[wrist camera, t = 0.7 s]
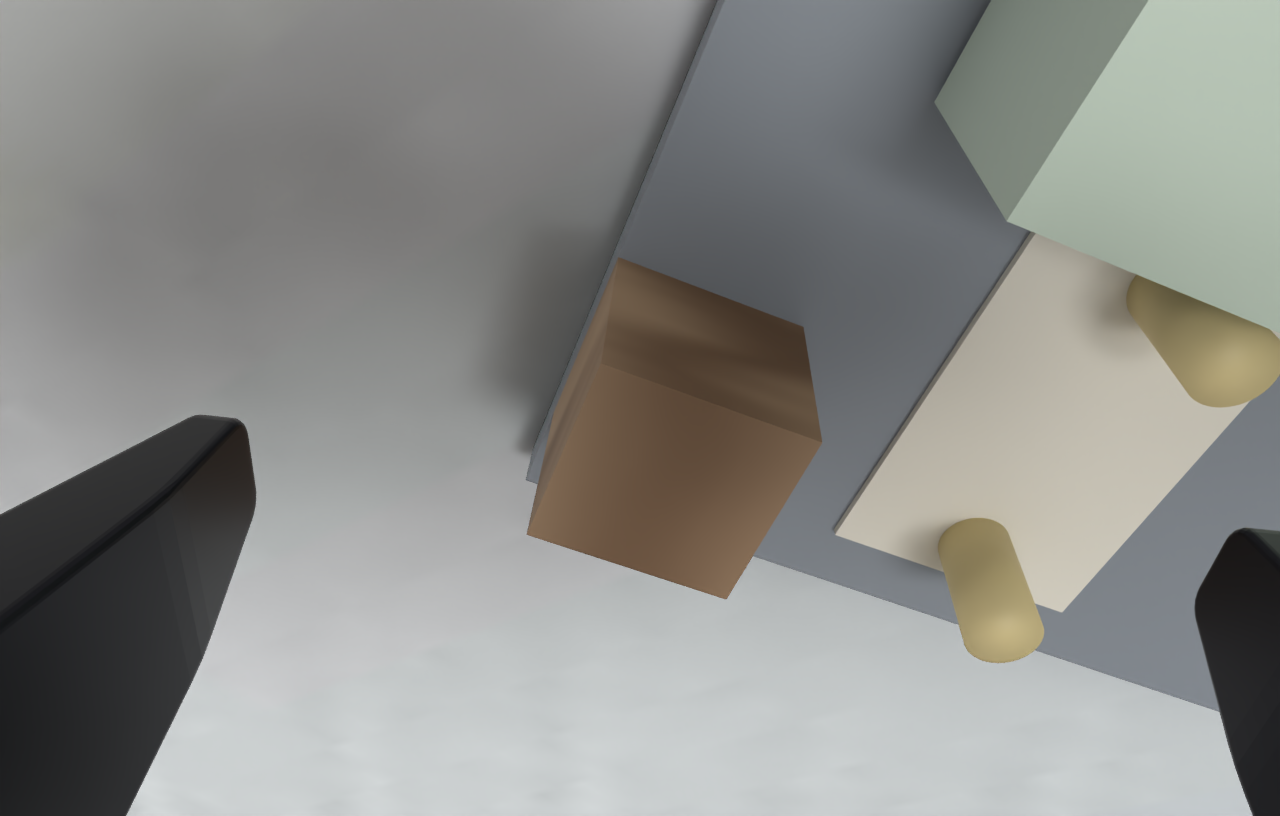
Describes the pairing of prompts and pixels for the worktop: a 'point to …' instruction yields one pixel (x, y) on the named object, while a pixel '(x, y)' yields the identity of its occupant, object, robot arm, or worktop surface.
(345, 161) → the worktop surface
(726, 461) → the block
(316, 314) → the worktop surface
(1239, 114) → the housing
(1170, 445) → the board
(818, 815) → the worktop surface
